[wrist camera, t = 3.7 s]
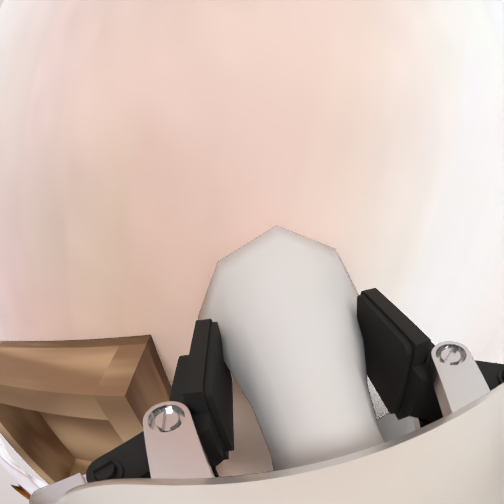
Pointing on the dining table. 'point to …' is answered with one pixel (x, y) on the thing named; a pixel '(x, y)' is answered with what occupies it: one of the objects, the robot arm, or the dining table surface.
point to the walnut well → (76, 399)
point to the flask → (295, 346)
